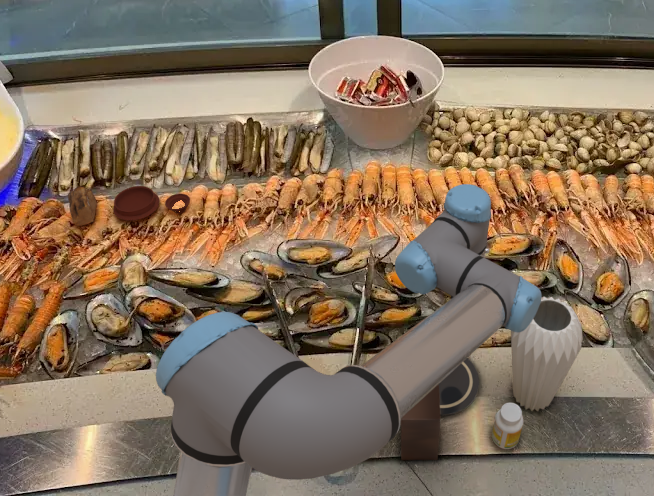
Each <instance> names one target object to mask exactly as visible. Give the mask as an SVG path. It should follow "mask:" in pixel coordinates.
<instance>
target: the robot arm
mask: <svg viewBox="0 0 654 496" xmlns="http://www.w3.org/2000/svg"><path fill="white" fill-rule="evenodd" d="M491 218H492V199H491V197H490V195H489V193H488V192H487V191H486V190H485V189H484V188H482V187H479V186H477V185H475V184H470V183H469V184H468V183H466V184H465V183H464V184H463V183H462V184H458V185H455V186H453V187H452V188H450V189H449V190H448V191H447V193H446V194H445V199H444V203H443V211H442V212H441V213H440V214H439V215H438V216H437V217H435V218H434V220H433V221H432V222H431V223H430V225H429V226H427V228H425V229H424V230H423V231H421V233H420V234H418V235H417V236H416V237H415V238H414V239H413V240H410V241H409V242H408V244H406V246H405V247H404V248H403V249H402V250H401V251H400V253H399V254H398V255H397V257H396V258H395V261H394V270H395V273H396V276H397V278H398V279H399V281H400V282H401V283H402V285H403V286H404V287H405V288H406V289H408V290H409V291H410V292H412V293H415V294H420V295H428V294H429V293H430V292H431V291H434V290H435V289H436V288H438V289H439V290H441V291H442V292H444V293H446V294H448V295H450V299H449V300H448V301H446V302H445V303H443V304H442V305H441V306H440V307H438V308H437V309H435V310H434V311H433V312H432V313H430V314H428V315H427V316H426V317H425V318H423V319H422V320H421V321H419V322H418V323H416V324H415V325H413V327H411V328H410V329H408V330H407V331H406V332H404V333H403V334H402V335H401V336H399V337H398V338H397V339H395V340H394V341H392V342H391V343H389V344H388V345H387V346H385V347H384V348H383V349H382V350H379V352H378V353H376V354H374V355H373V356H372V357H371V358H369V359H368V360H366V361H365V362H364V363H362V364H361V365H357V364H350V365H346V366H344V367H342V368H340V369H339V370H338V371H337V372H335V373H334V374H326V373H322V372H320V371H317V370H316V369H314V367H311V366H310V365H309V364H307V363H306V361H303V360H302V359H300V358H299V357H298V356H297V355H295V354H293V353H292V352H290V351H289V349H286V348H285V347H284V346H282V345H280V344H279V343H278V342H276V341H275V340H273V339H272V338H271V337H269V336H268V335H267V334H265V333H264V332H262V331H260V330H259V327H258V325H257V324H256V323H254V322H249V321H248V320H247V319H245V318H244V317H242V316H240V315H238V314H237V313H235V312H230V311H220V312H219V311H217V312H214V313H211V314H208V315H205V316H203V317H202V318H199V319H197V320H196V321H194V322H193V323H191V324H190V325H189V326H187V327H186V328H185V329H184V330H182V331H181V332H180V333H179V335H177V337H175V339H173V340H172V341H171V343H169V345H168V347H167V348H166V349H165V351H164V352H163V354H162V356H161V358H160V360H159V362H158V365H157V367H156V371H155V381H156V384H157V386H158V388H159V389H160V390H161V393H162V394H163V395H164V396H165V397H168V398H170V399H171V400H172V403H173V410H172V416H171V422H170V435H171V436H170V437H171V439H172V441H173V444H174V445H175V447H176V448H177V449H178V450H179V458H178V463H177V464H178V465H177V471H176V476H175V483H174V489H173V496H247V493H248V489H249V484H250V479H251V475H252V470H253V469H254V470H255V471H257V472H259V473H260V474H264V475H266V476H269V477H272V478H276V479H282V480H289V481H290V480H291V481H292V480H297V481H298V480H311V479H312V480H313V479H316V478H320V477H326V476H330V475H334V474H336V473H340V472H342V471H345V470H349V469H351V468H353V467H355V466H357V465H359V464H361V463H362V462H365V461H367V460H368V459H370V458H371V457H373V456H374V455H376V454H377V453H378V452H380V451H381V450H383V448H384V447H386V446H387V444H389V443H390V442H391V441H392V440H393V439H394V438H395V437H396V436H397V435H398V433H399V431H400V429H401V418H402V417H403V416H404V415H405V414H406V413H407V412H408V411H410V410H411V409H412V408H413V407H414V406H415V405H416V404H417V403H418V402H419V401H420V400H422V399H423V398H424V397H425V396H426V395H427V394H428V393H429V392H430V391H431V390H433V389H434V388H435V387H436V386H437V385H438V384H439V383H440V382H441V381H442V380H443V379H445V378H446V377H447V376H448V375H449V374H450V373H451V372H452V371H453V370H454V369H456V368H457V367H458V366H459V365H460V364H461V363H462V362H463V361H464V360H465V359H467V358H468V359H469V357H471V355H472V354H473V353H475V351H477V350H478V349H479V348H480V347H481V346H482V345H484V344H485V343H486V341H488V340H489V339H490V338H491V337H492V336H493V335H494V334H496V333H497V332H498V330H500V329H501V328H503V327H504V329H505V330H509V331H510V332H511V331H513V332H522V331H524V330H525V329H526V328H527V327H528V326H529V324H530V323H531V321H532V320H533V318H534V316H535V315H536V313H537V311H538V308H539V306H540V302H541V298H542V297H543V295H542V291H541V289H540V288H539V287H538V286H536V285H535V284H533V283H532V282H530V281H528V280H527V279H525V278H524V277H523V276H521V275H518V274H516V273H514V272H513V271H510V270H508V269H507V268H504V267H503V266H501V265H499V264H498V263H496V262H493V261H491V260H490V259H488V258H486V255H487V254H489V253H490V247H487V245H488V236H489V235H488V234H489V227H490V220H491Z"/></svg>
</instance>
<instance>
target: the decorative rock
mask: <svg viewBox="0 0 654 496" xmlns="http://www.w3.org/2000/svg"><path fill="white" fill-rule="evenodd" d="M67 199H68V204H69V205H68V206H69V207H68V208H69V213H70V217H71V220H72V223H73V224H74V225H75V226H77V227H81V226H85V225H89V224H90V223H93V222H94V221H95V216H96V210H97V206H98V205H97V204H98V202H97V198H96V196H95V195H94V193H93V191H92V190H91V189H87V188H86V187H85V186H76V187H75V188H74V189H73V190H71V191H70V192H69V193H68V195H67Z"/></svg>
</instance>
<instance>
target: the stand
mask: <svg viewBox="0 0 654 496" xmlns="http://www.w3.org/2000/svg"><path fill="white" fill-rule="evenodd" d="M441 417H442V416H440V395H439V385H437V386H436V387H435V388H434V389H433V390H431V391H430V392H429V393H428V394H427V395H426V396H425V397H424V398H423V399H422V400H420V401H419V402H418V403H417V404H416V405H415V406H414V407H413V408H412V409H411V410H410V411H408V412H407V413H406V414H405V415H404V416H403V417H402V418H401V423H400V460H401V461H433V460H434V461H437V460H438V459H439V448H440V433H441V421H442V420H441Z"/></svg>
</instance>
